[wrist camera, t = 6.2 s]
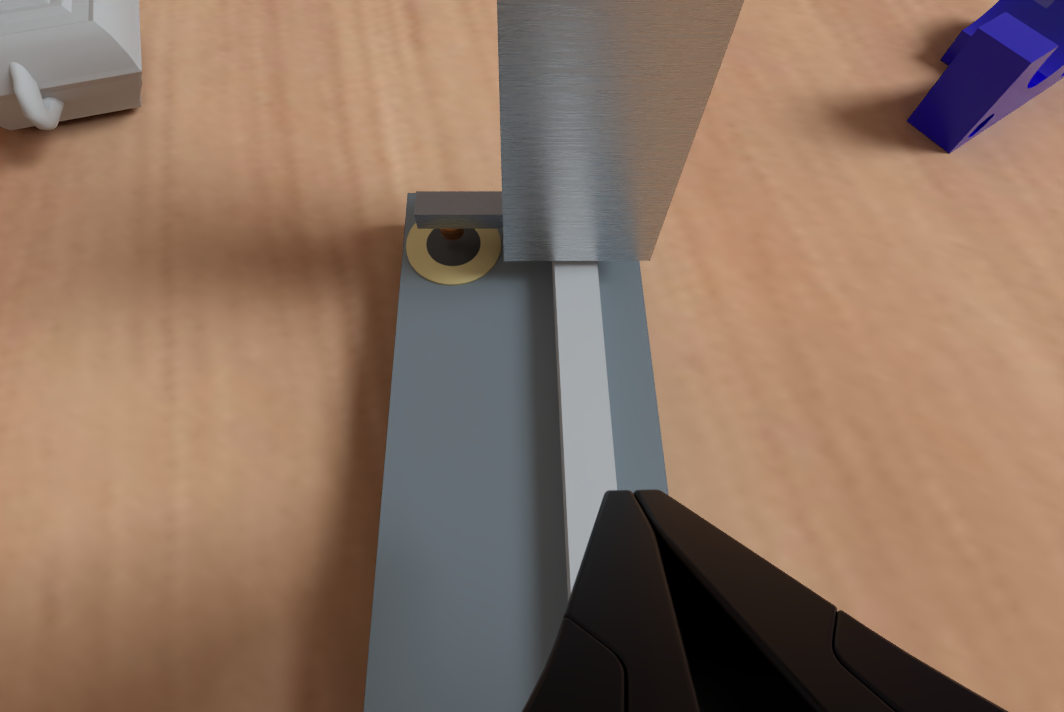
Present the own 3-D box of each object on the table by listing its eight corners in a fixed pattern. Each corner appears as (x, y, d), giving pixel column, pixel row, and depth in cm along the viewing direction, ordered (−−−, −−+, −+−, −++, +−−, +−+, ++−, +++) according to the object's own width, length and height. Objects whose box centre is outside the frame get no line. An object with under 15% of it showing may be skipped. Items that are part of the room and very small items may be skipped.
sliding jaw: (645, 272, 17) (934, -522, 5) (418, 273, 16) (199, -556, 5) (634, 190, 18) (847, -590, 6) (424, 190, 18) (261, -618, 6)
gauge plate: (718, 1062, 11) (787, 1205, 8) (349, 1082, 11) (292, 1237, 8) (622, 223, 20) (640, 155, 17) (414, 223, 20) (398, 154, 17)
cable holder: (995, 29, 25) (1075, -72, 22) (1066, 77, 24) (1164, -22, 20) (873, 101, 23) (940, 2, 19) (945, 157, 22) (1031, 63, 18)
